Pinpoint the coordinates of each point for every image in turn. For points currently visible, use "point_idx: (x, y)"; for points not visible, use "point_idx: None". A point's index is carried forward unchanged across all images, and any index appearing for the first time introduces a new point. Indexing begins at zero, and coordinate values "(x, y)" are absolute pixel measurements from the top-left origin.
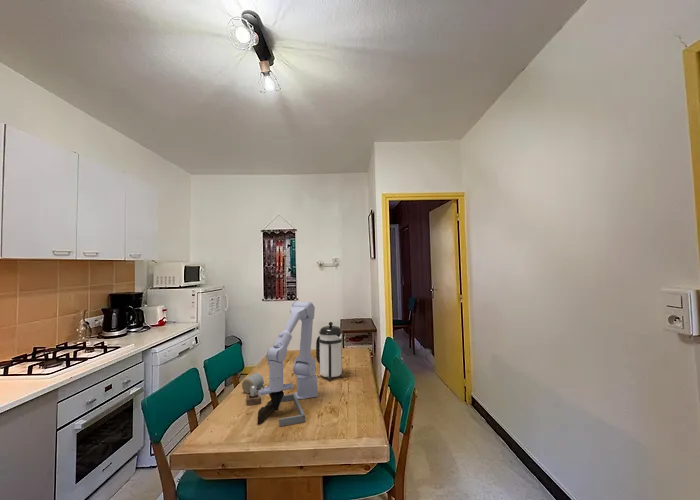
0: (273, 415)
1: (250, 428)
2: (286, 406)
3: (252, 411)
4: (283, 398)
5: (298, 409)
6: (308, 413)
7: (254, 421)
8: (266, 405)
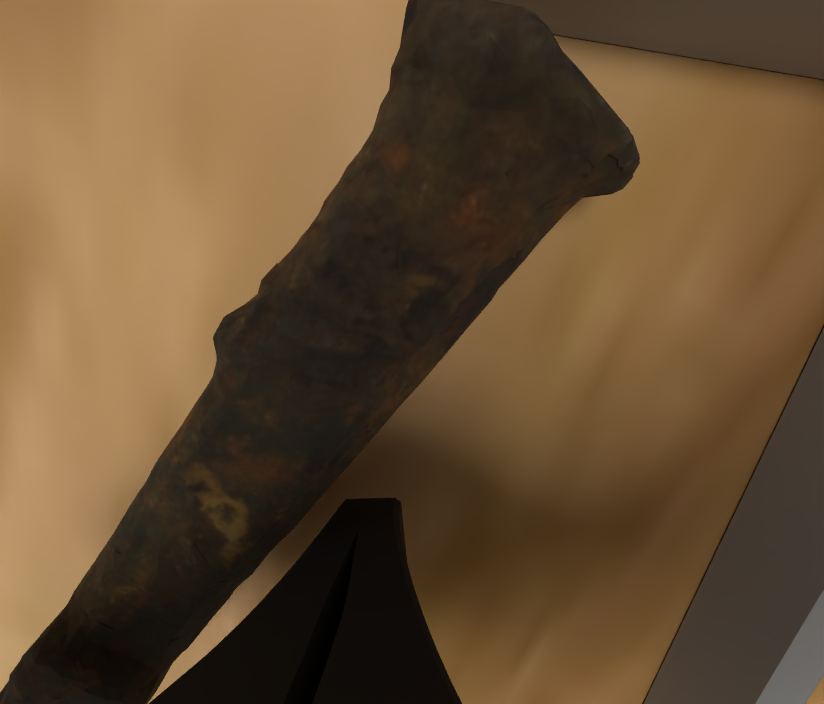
0: None
1: None
2: (637, 338)
3: (11, 221)
4: (757, 31)
5: (707, 683)
6: None
7: (65, 556)
8: (159, 531)
